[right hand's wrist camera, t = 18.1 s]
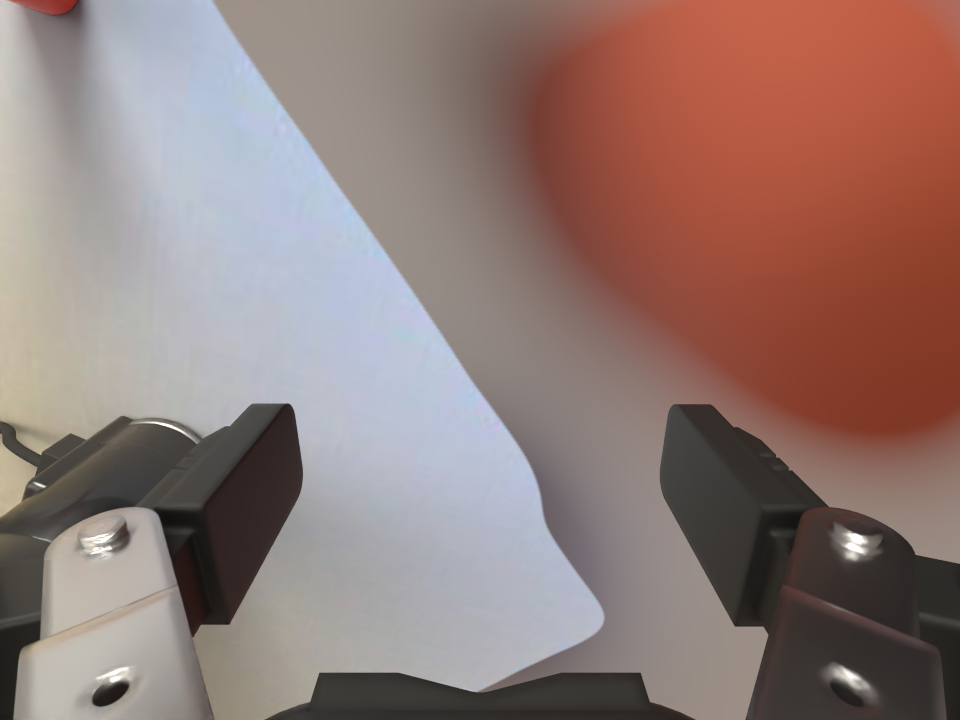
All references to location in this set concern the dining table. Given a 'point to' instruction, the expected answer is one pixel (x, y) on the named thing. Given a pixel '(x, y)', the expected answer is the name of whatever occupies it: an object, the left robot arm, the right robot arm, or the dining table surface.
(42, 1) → the red cylinder
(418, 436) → the dining table surface
